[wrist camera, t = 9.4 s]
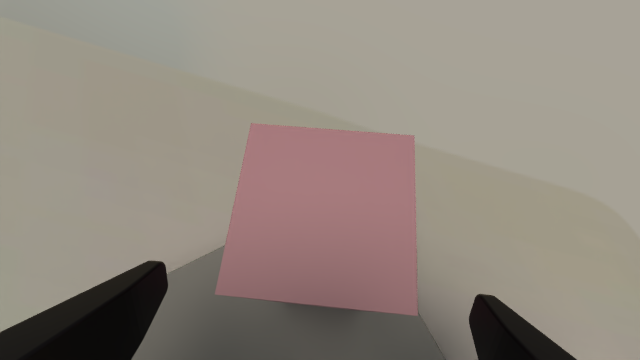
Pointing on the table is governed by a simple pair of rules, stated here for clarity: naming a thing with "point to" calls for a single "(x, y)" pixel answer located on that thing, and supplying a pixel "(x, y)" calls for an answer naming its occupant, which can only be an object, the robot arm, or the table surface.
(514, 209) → the table surface
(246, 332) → the mat
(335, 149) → the pink box
